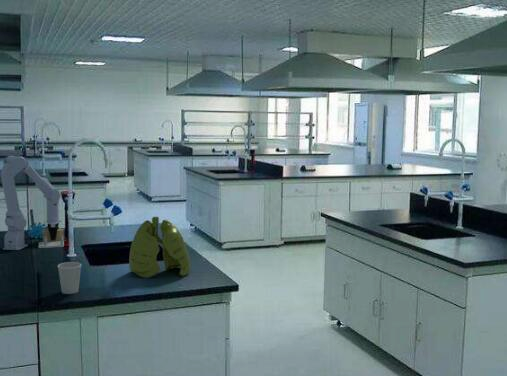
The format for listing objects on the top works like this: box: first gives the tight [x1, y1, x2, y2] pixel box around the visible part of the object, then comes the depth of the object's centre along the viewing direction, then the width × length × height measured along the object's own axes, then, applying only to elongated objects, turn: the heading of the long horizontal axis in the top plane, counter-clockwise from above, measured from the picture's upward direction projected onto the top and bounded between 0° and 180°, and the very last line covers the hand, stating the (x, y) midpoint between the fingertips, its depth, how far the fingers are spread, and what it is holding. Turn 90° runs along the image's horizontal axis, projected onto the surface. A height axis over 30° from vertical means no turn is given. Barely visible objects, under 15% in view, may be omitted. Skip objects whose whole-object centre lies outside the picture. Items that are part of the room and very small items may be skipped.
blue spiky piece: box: [27, 222, 48, 240], centre depth 291 cm, size 11×6×10 cm
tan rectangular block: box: [42, 228, 65, 242], centre depth 282 cm, size 10×4×6 cm, turn 110°
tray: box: [37, 235, 65, 249], centre depth 274 cm, size 14×10×4 cm
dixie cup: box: [57, 261, 82, 295], centre depth 202 cm, size 8×8×10 cm
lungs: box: [128, 216, 191, 279], centre depth 228 cm, size 25×16×24 cm, turn 105°
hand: (53, 238), depth 282 cm, fingers open, 6 cm apart
